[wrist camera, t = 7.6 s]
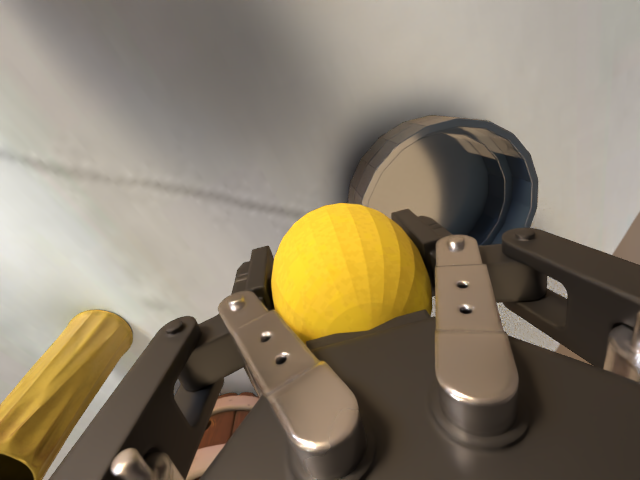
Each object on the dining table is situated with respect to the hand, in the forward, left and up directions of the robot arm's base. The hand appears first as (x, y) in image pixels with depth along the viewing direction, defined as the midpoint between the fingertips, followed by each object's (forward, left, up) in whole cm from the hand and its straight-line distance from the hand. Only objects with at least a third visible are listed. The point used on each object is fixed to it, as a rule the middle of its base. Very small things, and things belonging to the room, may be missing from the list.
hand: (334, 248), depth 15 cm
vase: (+11, -25, -17) cm, 32 cm away
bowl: (+5, +10, -17) cm, 20 cm away
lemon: (0, 0, -1) cm, 1 cm away
